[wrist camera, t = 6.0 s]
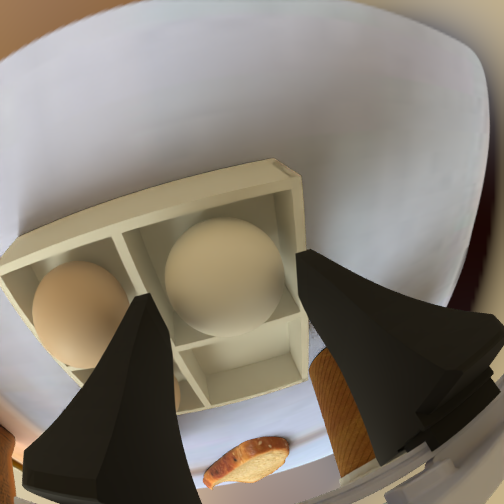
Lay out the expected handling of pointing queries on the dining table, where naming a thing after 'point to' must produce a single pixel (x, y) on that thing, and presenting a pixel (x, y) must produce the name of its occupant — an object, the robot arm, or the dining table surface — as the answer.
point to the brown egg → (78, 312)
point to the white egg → (224, 276)
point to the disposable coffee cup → (342, 421)
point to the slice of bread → (248, 461)
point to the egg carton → (153, 274)
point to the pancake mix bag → (6, 467)
